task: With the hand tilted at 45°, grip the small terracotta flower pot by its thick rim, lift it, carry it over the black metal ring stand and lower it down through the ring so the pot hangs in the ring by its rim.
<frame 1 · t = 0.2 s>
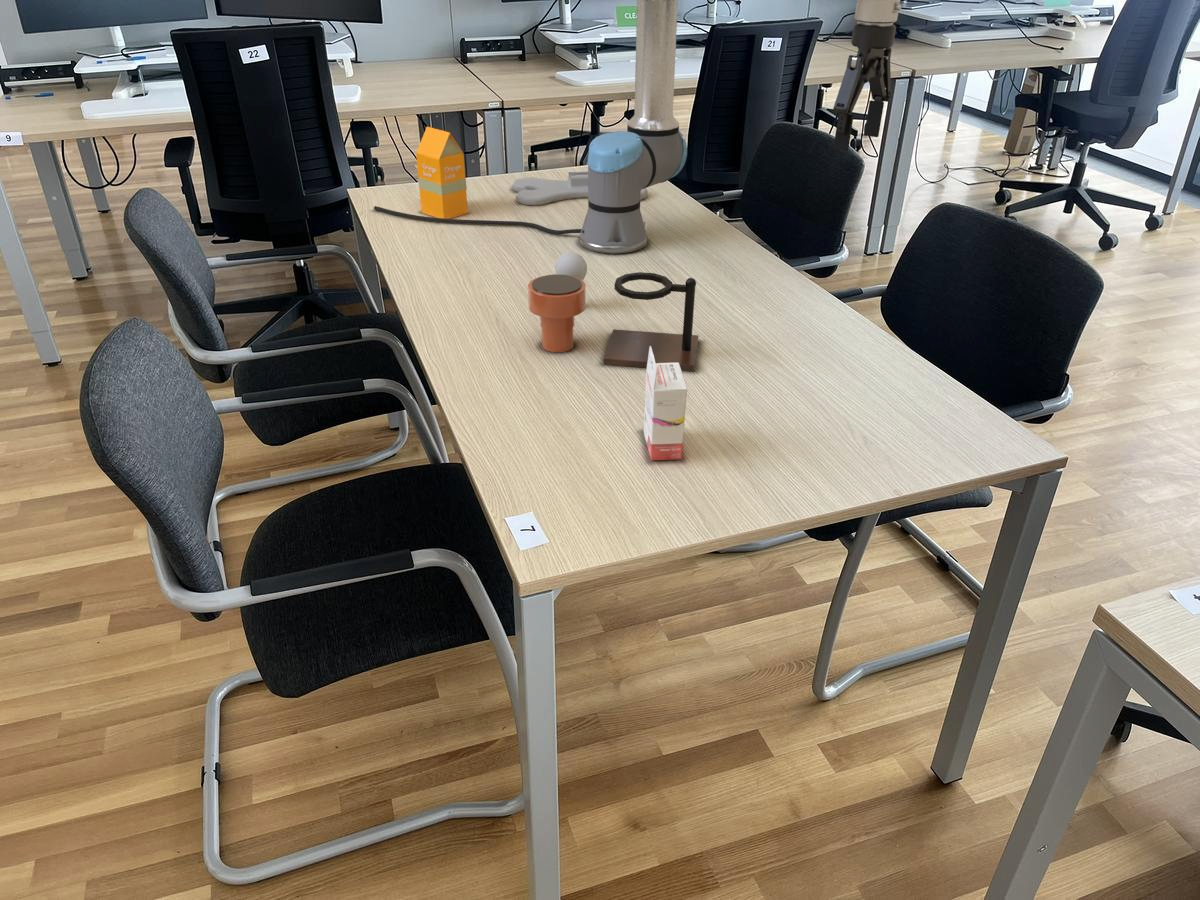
hand: (856, 142, 178), 28 cm above the table, tool pointing down, fingers open, 13 cm apart
lightbulb: (571, 308, 179), on the table
ink cartridge box: (662, 446, 137), on the table
ring stand: (654, 312, 159), on the ring stand base, point 8 cm above the table
terracotta pot: (557, 345, 165), on the table
orange juice: (444, 213, 227), on the table
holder: (579, 193, 242), on the table
ring stand base: (660, 353, 163), on the table
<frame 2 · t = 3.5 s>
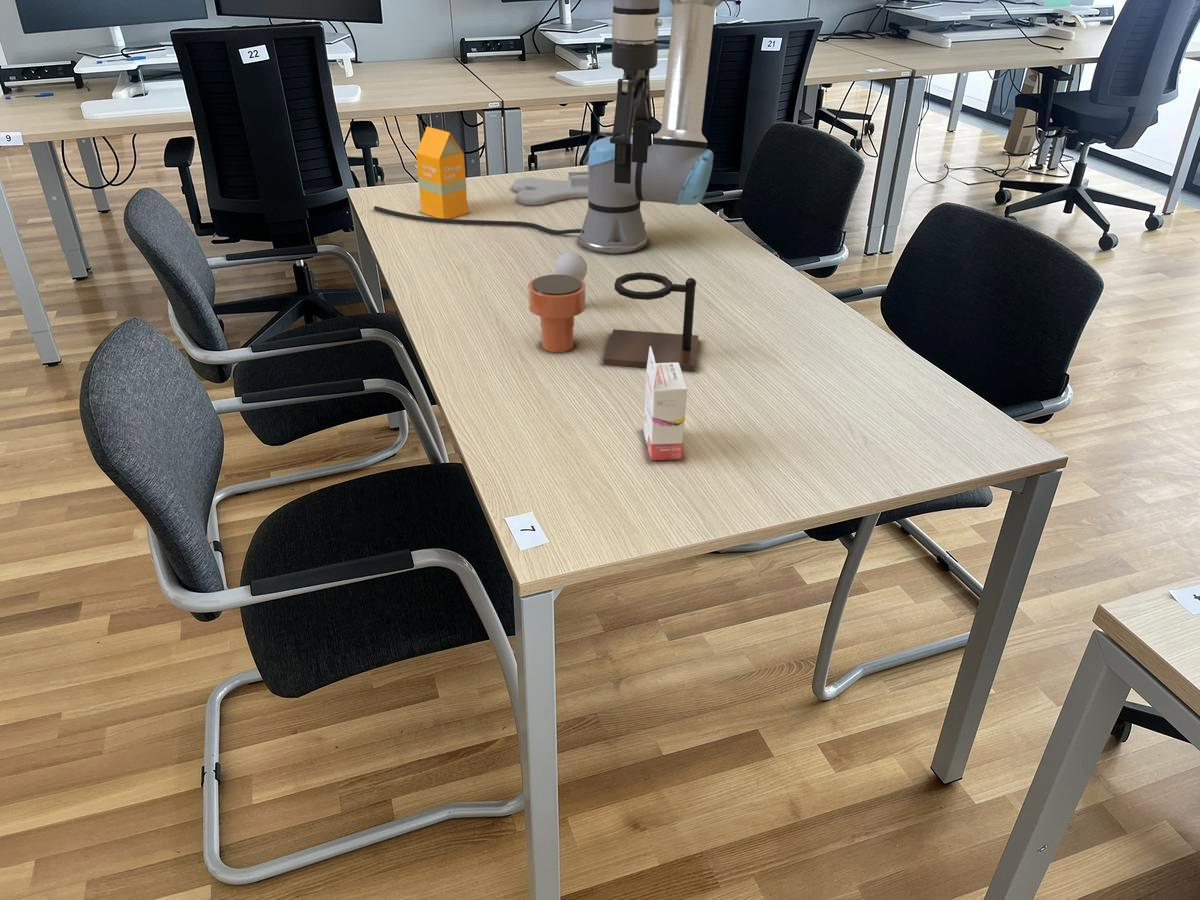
hand: (631, 172, 161), 27 cm above the table, tool pointing down, fingers open, 13 cm apart
nothing on the table moved.
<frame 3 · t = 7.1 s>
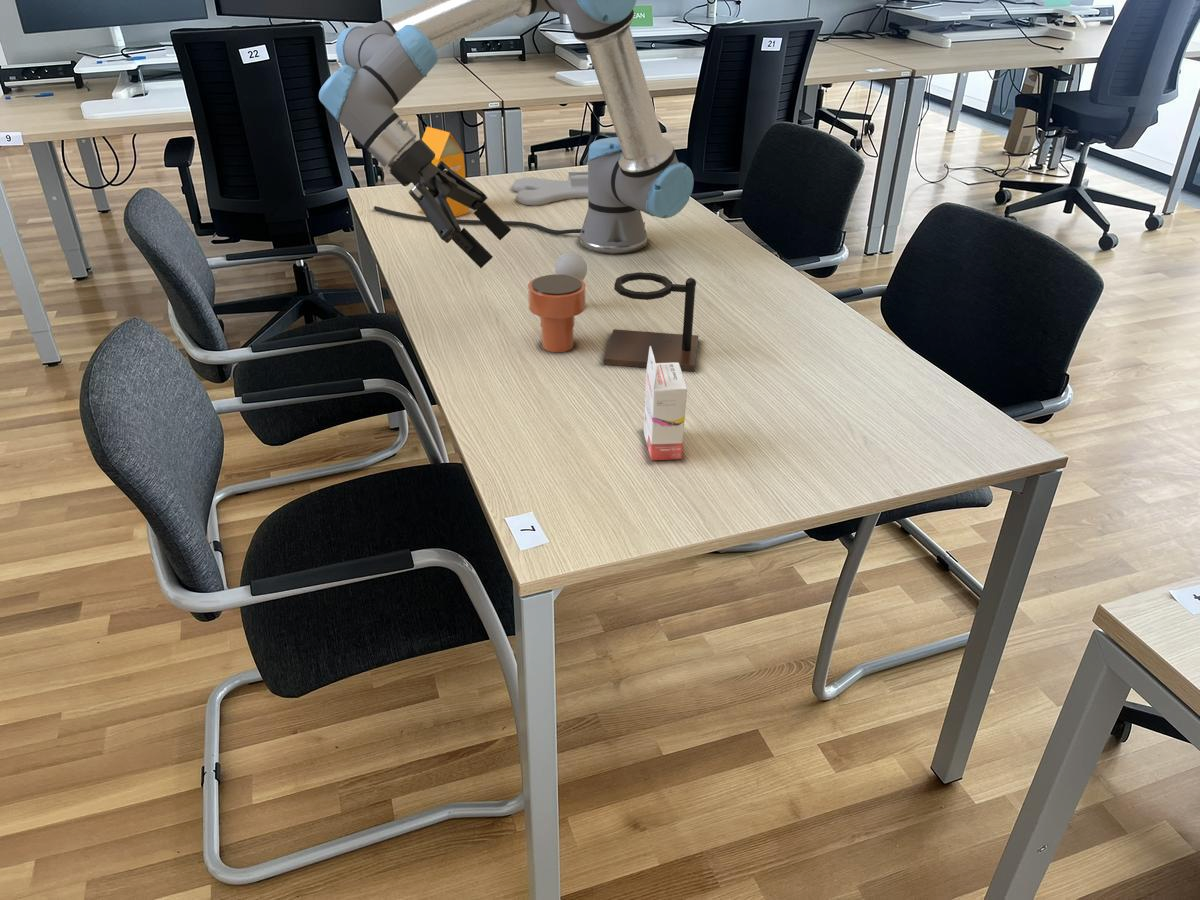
hand: (496, 248, 157), 17 cm above the table, tool tilted 45°, fingers open, 13 cm apart
nothing on the table moved.
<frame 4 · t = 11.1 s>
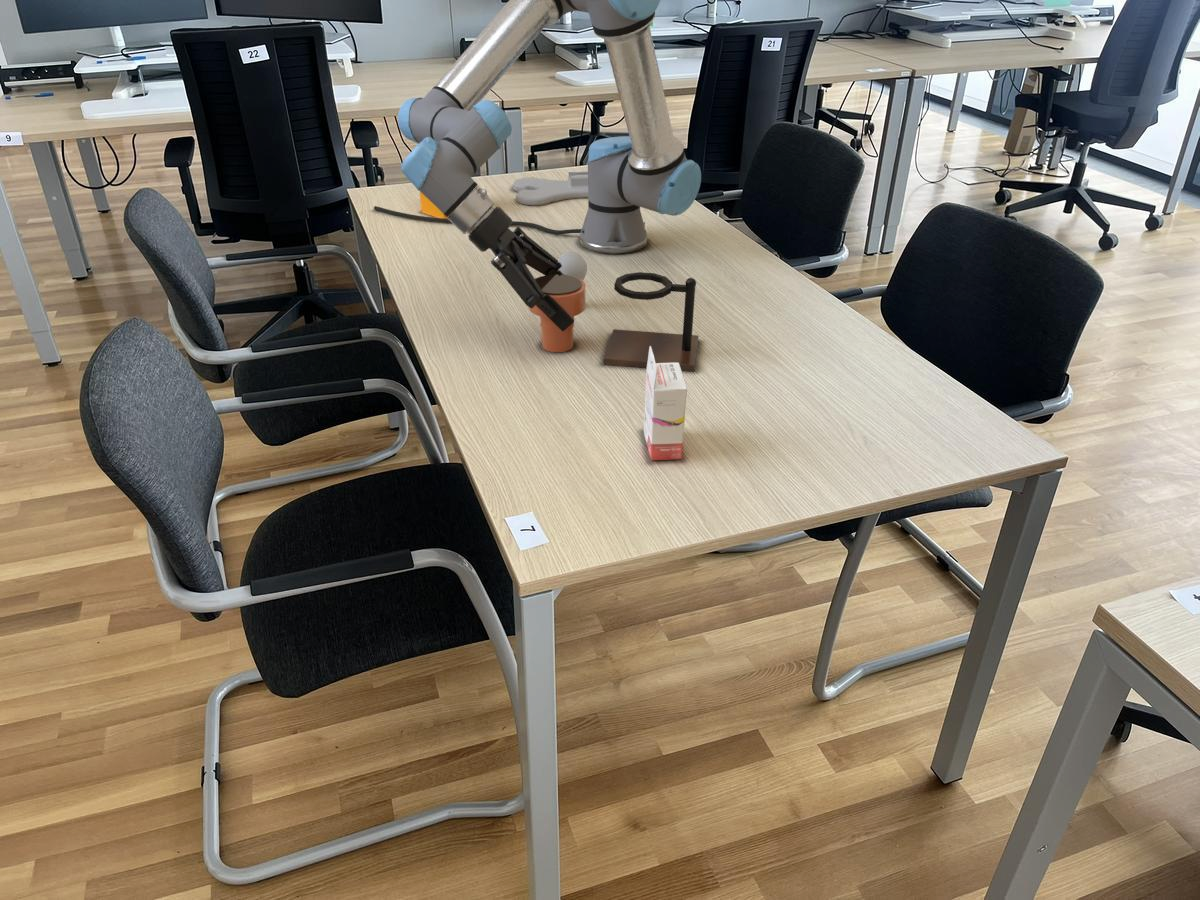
hand: (574, 313, 161), 6 cm above the table, tool tilted 45°, fingers closed on terracotta pot, 10 cm apart
terracotta pot: (557, 345, 165), on the table, touching gripper
everything else where it was.
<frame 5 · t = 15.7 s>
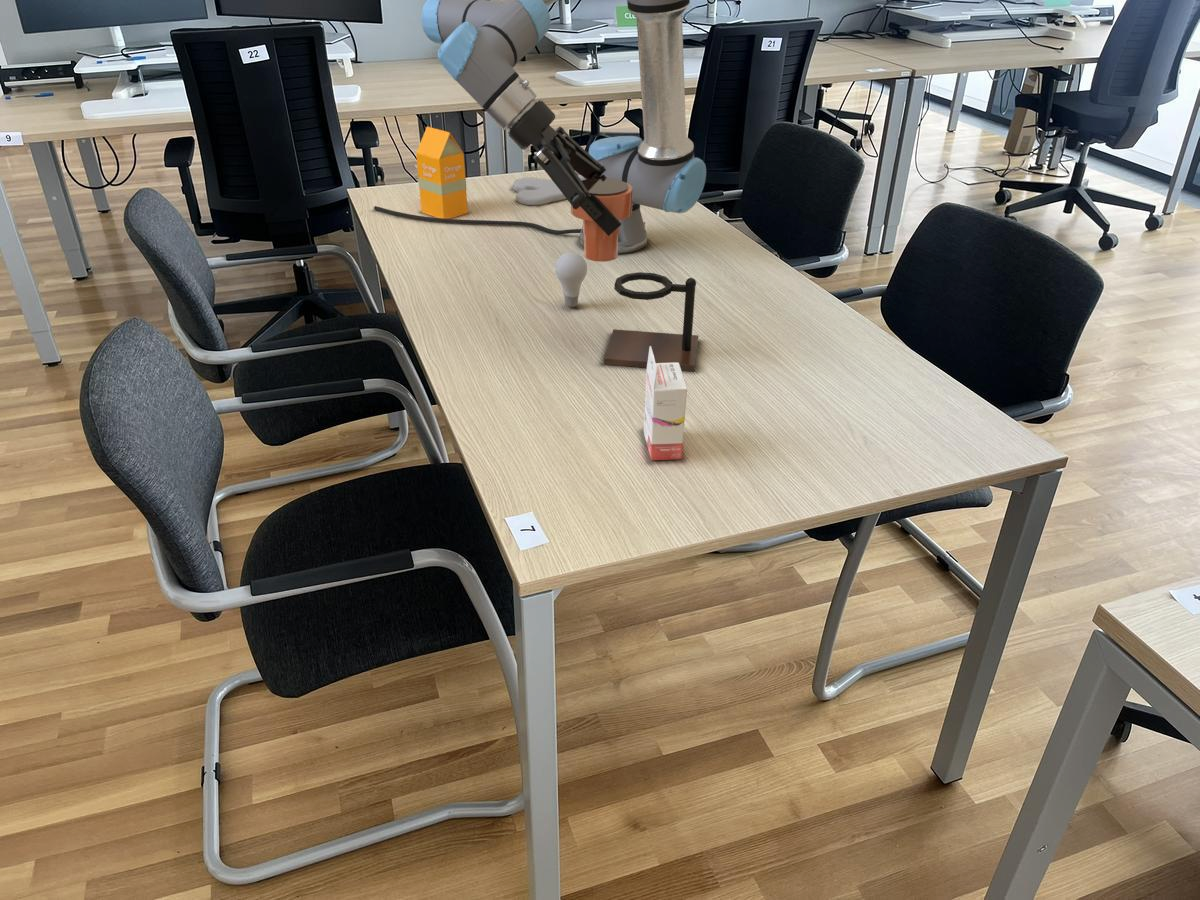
hand: (619, 219, 151), 24 cm above the table, tool tilted 45°, fingers closed on terracotta pot, 10 cm apart
terracotta pot: (600, 255, 155), point 17 cm above the table, touching gripper
everything else where it was.
when the fingers open (12 cm above the table, at t = 20.5 s): terracotta pot stays where it is, resting on ring stand.
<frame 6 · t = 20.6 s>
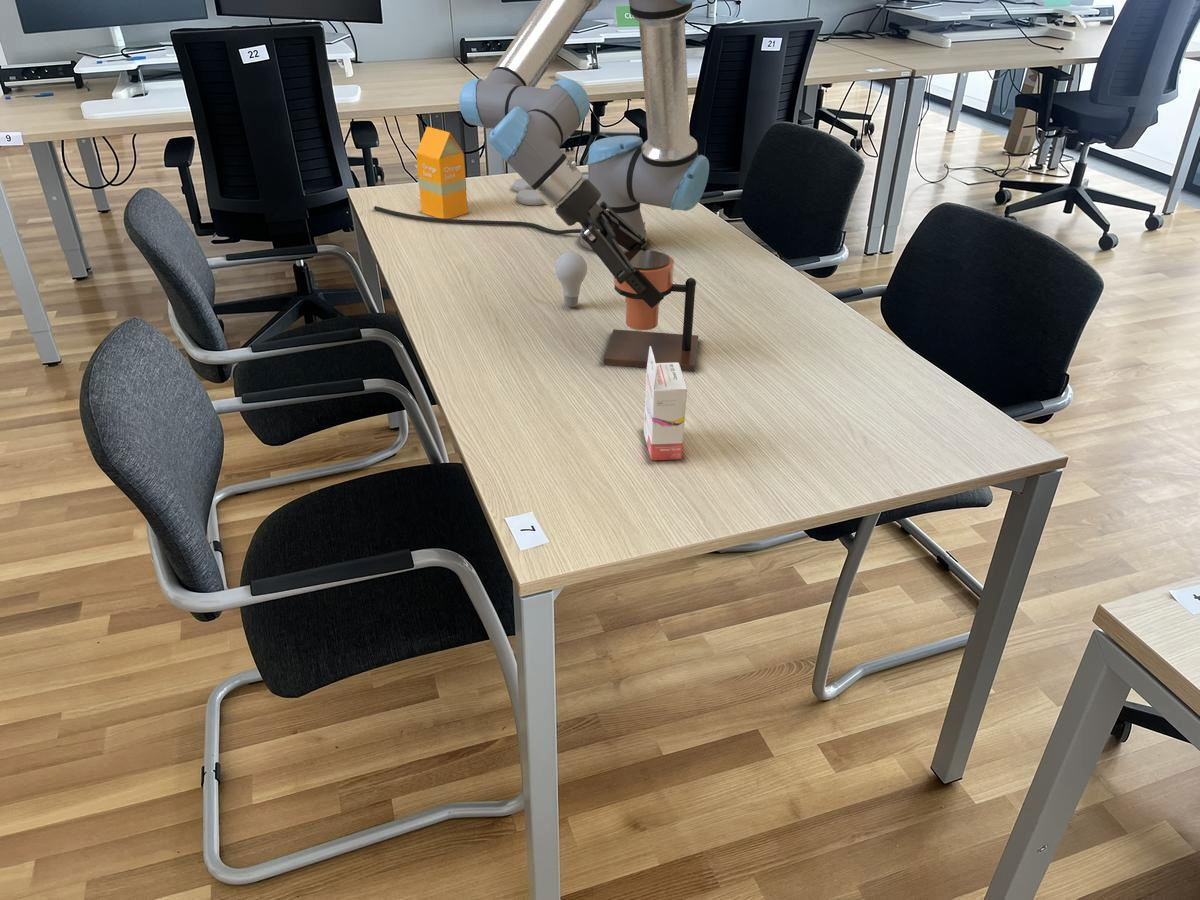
hand: (660, 290, 156), 12 cm above the table, tool tilted 45°, fingers open, 10 cm apart
terracotta pot: (641, 323, 160), point 5 cm above the table, touching ring stand
everything else where it was.
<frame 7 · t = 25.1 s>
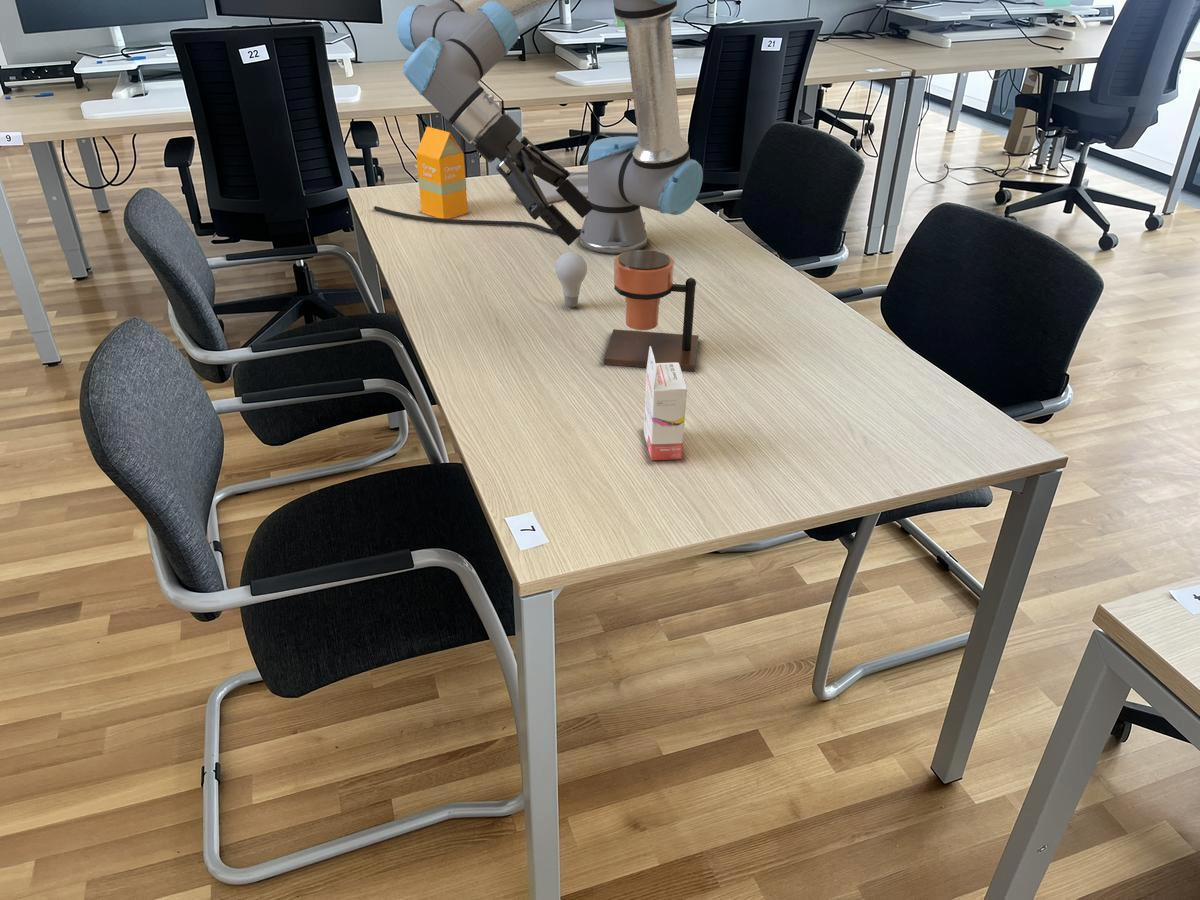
hand: (582, 225, 152), 22 cm above the table, tool tilted 45°, fingers open, 13 cm apart
nothing on the table moved.
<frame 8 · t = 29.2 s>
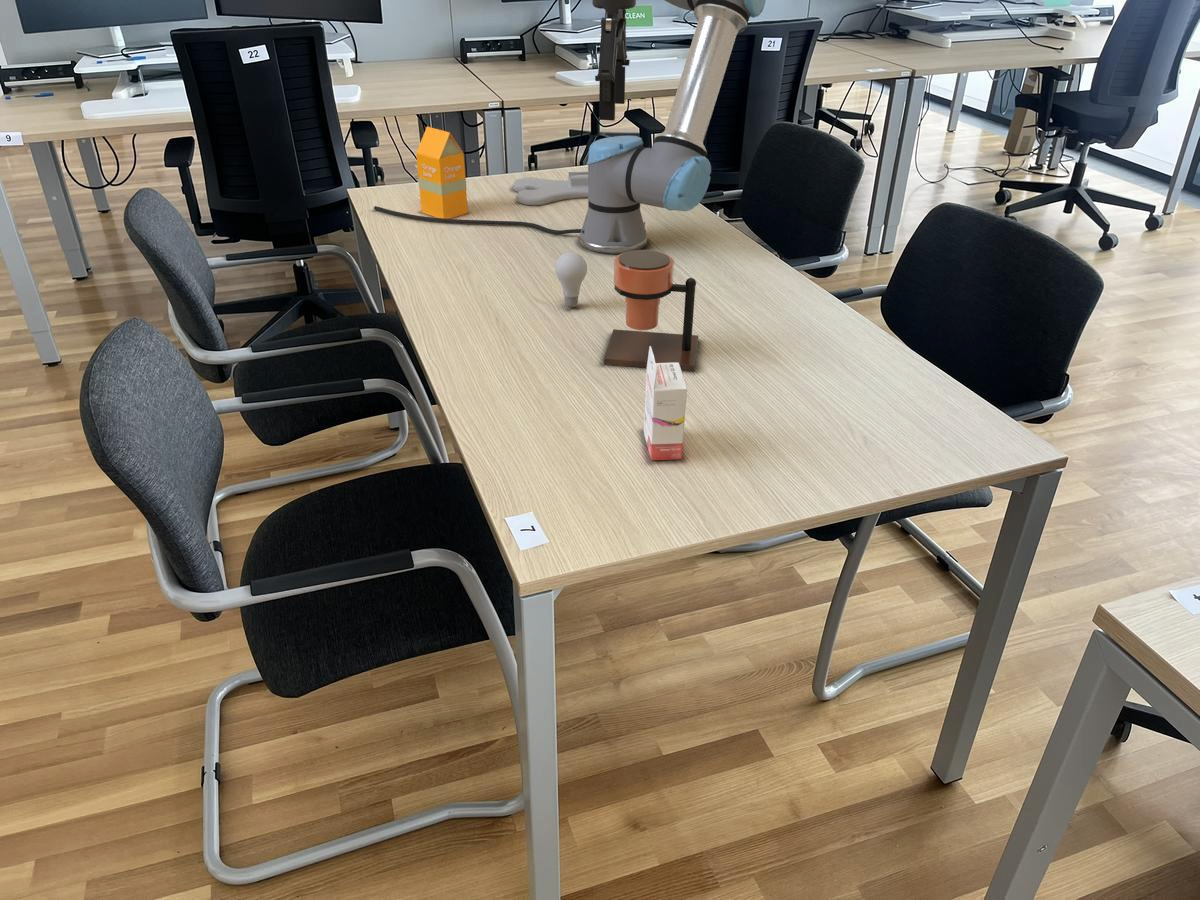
hand: (612, 111, 168), 35 cm above the table, tool pointing down, fingers open, 13 cm apart
nothing on the table moved.
at the end: terracotta pot 0.1 cm from the target spot on the ring stand, point 5.5 cm above the ring stand's base; terracotta pot touching ring stand; terracotta pot tilted 0° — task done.
